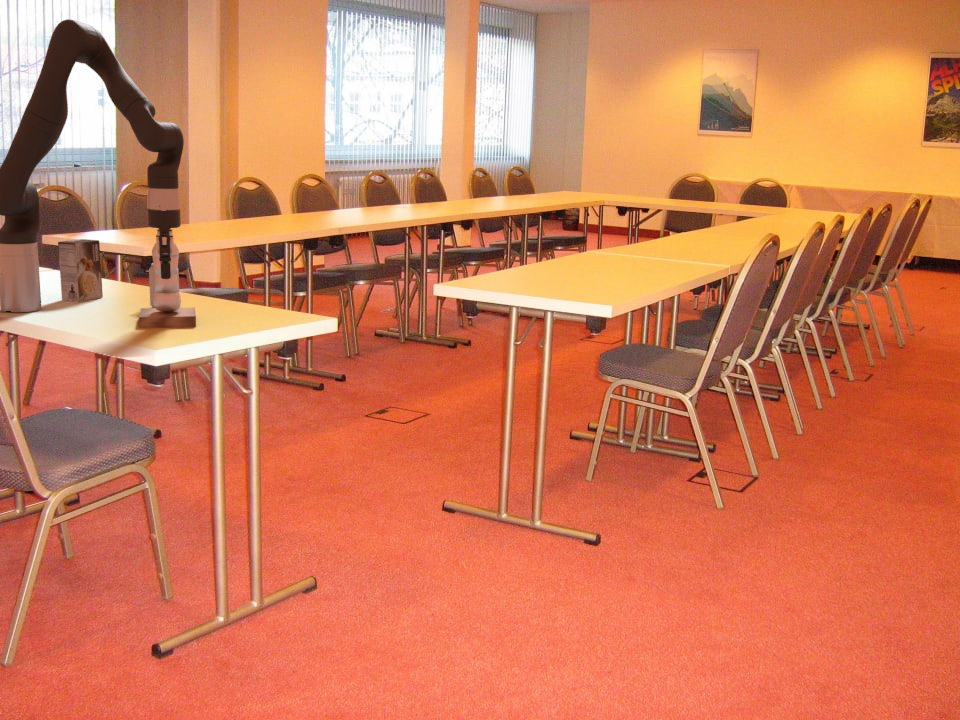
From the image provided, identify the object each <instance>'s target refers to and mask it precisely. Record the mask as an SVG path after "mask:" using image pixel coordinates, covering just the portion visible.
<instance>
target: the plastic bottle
mask: <svg viewBox="0 0 960 720" xmlns="http://www.w3.org/2000/svg"><path fill="white" fill-rule="evenodd" d="M173 232H174V231H173V228H170V230H169V235H170V236H173V237H174V234H173ZM156 235H157V236H159V235H160V230H159V229H158V228H156ZM179 250H180V249H179V248H178V245H177V243H175V242H174V241H173V243H172V251H173V252H172V254H171V255H170V257H171V263H170V271H171V278H170V279H162V278H161V263H160V262H159V258H160V254H158V249H157V242H156V241H155V243H154V245H153V247H152V250H151V255H152V261H153V262H152V263H154V269H155V293H154V300H153V302H154V307H155V308H156V310H158V311H163V312H172V311H176V310H178V309H179V308H181V303H182V299H181V295H180V294H181V293H180V287H179V288H178V280H177V273H178V271H179V268H178V267H179V255H180V251H179ZM162 256H168V253H162Z"/></svg>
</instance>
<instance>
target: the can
mask: <svg viewBox="0 0 960 720" xmlns="http://www.w3.org/2000/svg"><path fill="white" fill-rule="evenodd" d="M177 280H178V288H179V289H180V276H179V270H178V273H177ZM148 281H149V282H148V283H149V304H150V307H151V308H155V307H154V302H153V300H154V293H155V269H154V263H153V262H152V263H151V264H150V268H149V269H148Z"/></svg>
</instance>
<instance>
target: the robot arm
mask: <svg viewBox="0 0 960 720" xmlns="http://www.w3.org/2000/svg"><path fill="white" fill-rule="evenodd" d="M76 63H80V64H85V65H86V66H87V67H89V68H90V69H91V70H92V71H93V72H95V74H97V75H98V76H99V77H100V79H101V80H102V82H103V83H104V86H105V88H106V91H107V94H108V96H109V98H110V100H111V102H112V104H113V105H114V106H115V107H116V109H117V110H118V111H119V112H120V113H121V114H122V116H123V117H124V118H125V120H126V121H128V123H129V125H130V127H131V129H132V131H133V134H134V136H135V137H136V140H137V142H138V143H139V144H140V146H142V148H144V149H145V150H147V151H149V152H151V153H157V158H156V160H155V162H151V163H150V164H149V165H148V166H147V169H146V170H147V175H146V176H147V177H146V178H147V180H146V181H147V193H146V195H147V196H146V204H147V205H146V206H147V226H148V227H150V228H152V229H159V230H160V235H159V236H157V234H156V235H155V238H156V239H155V240H156V241H155V243H156V242H157V249H158V254H160V258H159V262H160V263H161V278H162V279H170V278H171V271H170V263H171V257H170V255H171V254H172V252H173V251H172V243H173V242H174V235H173V236H170V235H169V230H170V229H177V228H180V227H181V225H182V223H181V222H182V221H181V219H182V218H181V199H180V198H181V197H180V191H179V172H178V171H179V167H180V164H181V159H182V154H183V151H184V145H185V144H184V141H185V140H184V135H183V131H182V129H181V128H180V126H179V125H177V124H176V123H174V122H170V121H169V122H168V121H167V122H166V121H157V120H156V119H155V115H156V108H155V106H154V104H153V102H151V100H150V99H149V98H148V97H147V96H146V95H145V93H144V92H143V91H142V90H141V89H140V88H139V87H138V85H137V84H136V83H135V82H134V80H133V79H132V78H131V77H130V76H129V74H128V73H127V72H126V70H125V69H124V67H123V66H122V64H121V63H120V60H118V58H117V57H116V55H115V53H114V51H113V50H112V48H111V47H110V45H109V43H108V42H107V40H106V38H105V37H104V36H103V34H102V32H100V30H99V29H97V28H96V27H94V26H92V25H90V24H87V23H85V22H81V21H78V20H75V19H69V18H68V19H67V18H66V19H63V20H61V21H60V22H59V23H58V24H57V25H56V27H55V28H54V30H53V32H52V34H51V37H50V39H49V43H48V47H47V50H46V54H45V57H44V60H43V64H42V66H41V67H42V68H41V70H40V73H39V75H38V79H37V80H36V83H35V86H34V89H33V92H32V95H31V97H30V99H29V101H28V103H27V104H26V107H25V109H24V112H23V115H22V117H21V119H20V121H19V122H20V123H19V125H18V127H17V131H16V132H15V134H14V136H13V140H12V142H11V144H10V145H9V149H8V152H7V154H6V156H5V158H4V160H3V162H2V164H1V165H0V216H3V217H4V223H3V224H2V227H1V228H0V312H6V311H11V312H10V313H28V312H36V311H40V310H42V296H41V294H42V292H41V280H40V279H41V278H40V264H39V263H40V262H39V261H40V260H39V247H38V234H39V233H40V228H41V226H40V225H41V219H40V217H41V216H40V214H41V213H40V197H39V193H38V190H37V188H36V186H35V185H34V183H33V182H32V181H30V178H31V177H32V174H33V172H34V171H35V168H37V166H38V165H39V163H40V162H41V161H42V160H43V159H44V158H45V157H46V156H47V155H48V154H49V153H50V151H51V150H52V149H53V148H54V146H55V145H56V144H57V142H58V141H59V139H60V137H61V134H62V132H63V129H64V127H65V124H66V122H67V119H68V115H69V105H68V94H67V91H68V88H67V86H68V81H69V78H70V75H71V73H72V71H73V69H74V66H75V64H76ZM162 253H168V256H162Z"/></svg>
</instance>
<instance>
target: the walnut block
mask: <svg viewBox="0 0 960 720" xmlns="http://www.w3.org/2000/svg"><path fill="white" fill-rule="evenodd" d="M138 325H139V326H138V327H139V328H179V327H180V328H181V327H182V328H183V327H185V328H186V327H188V328H189V327H190V328H191V327H197V316H196V307H180V308H179V309H178V310H176V311H172V312H163V311H158V310H156V308H153V307H146V308H145V307H144V308H143V307H142V308H140V311H139V315H138Z"/></svg>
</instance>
